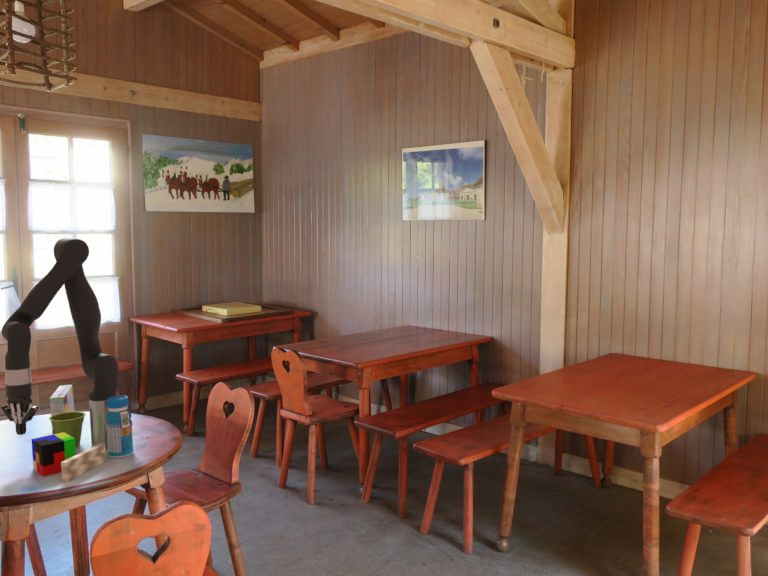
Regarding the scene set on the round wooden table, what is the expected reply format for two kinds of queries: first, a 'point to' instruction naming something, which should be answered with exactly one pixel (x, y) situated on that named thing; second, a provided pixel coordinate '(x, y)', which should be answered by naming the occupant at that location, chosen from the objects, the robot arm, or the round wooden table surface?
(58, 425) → the plant pot
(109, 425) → the blue canister
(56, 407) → the snack box
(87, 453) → the ash board
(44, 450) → the puzzle toy
